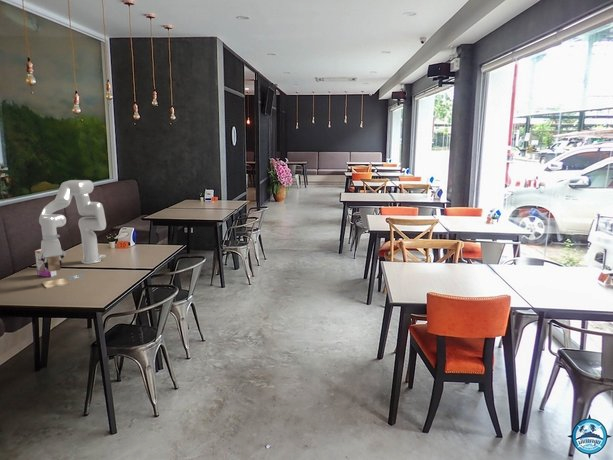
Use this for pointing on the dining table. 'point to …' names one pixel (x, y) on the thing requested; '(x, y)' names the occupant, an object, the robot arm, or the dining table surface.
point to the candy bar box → (43, 267)
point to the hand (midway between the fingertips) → (53, 267)
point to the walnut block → (53, 263)
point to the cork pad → (55, 283)
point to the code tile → (75, 276)
